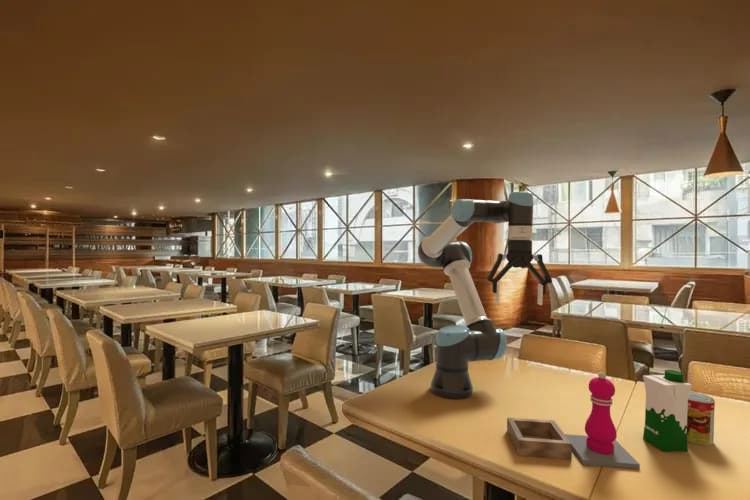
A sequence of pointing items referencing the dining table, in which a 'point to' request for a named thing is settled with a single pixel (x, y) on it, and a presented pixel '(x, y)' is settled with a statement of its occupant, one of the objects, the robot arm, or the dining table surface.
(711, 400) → the canned food
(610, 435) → the pepper mill
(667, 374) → the milk carton
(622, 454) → the coaster
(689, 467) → the dining table surface
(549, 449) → the brown wooden square tray
